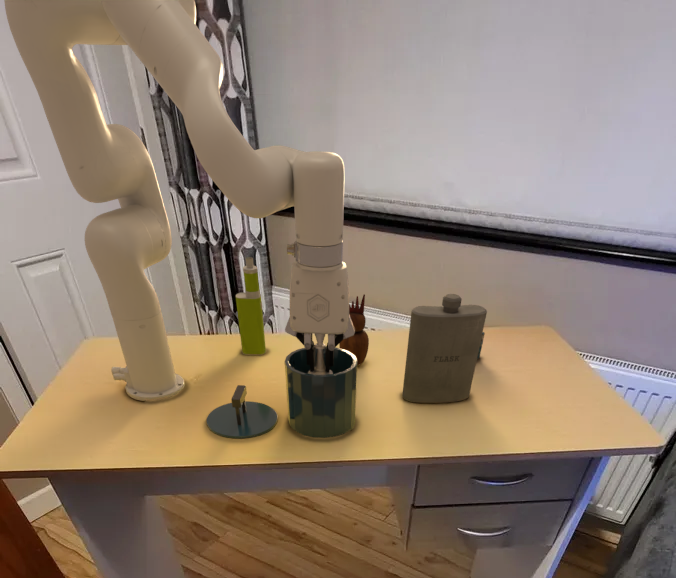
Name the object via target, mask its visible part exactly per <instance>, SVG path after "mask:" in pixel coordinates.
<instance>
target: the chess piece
mask: <svg viewBox="0 0 676 578" xmlns="http://www.w3.org/2000/svg"><path fill="white" fill-rule="evenodd" d="M314 336H315V339H316V342H317V343H314V345H315V346H314V347H315V348H316V349H318V351H317V362H316V367H315V369H314V371H313V372H310V371H309V372H308V374H313V375H328V374H333V372H332V371H331V370H330V371H329V373H326V372H325V364H324V356H323V349H324V348H326V346H327V344H325V343H324V341H325V337H326V334H314Z"/></svg>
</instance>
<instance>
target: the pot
mask: <svg viewBox="0 0 676 578" xmlns="http://www.w3.org/2000/svg"><path fill="white" fill-rule="evenodd" d="M317 351H318V349H316V348H315V362H317ZM325 351H326V348H324V349H323V356H324V364H325ZM315 367H316V365H315ZM330 370H331V371H332V372H333V374H328V375H313V374H308V372H309V371H310V365H307V355H306V349H305V347H302V348H298V349H295V350H293V351H291V352H289V354H288V355H286V356H285V359H284V372H285V387H286V402H287V405H286V406H287V418H288V419H287V421H288V425H289V427H290V428H291V429H292V430H293V431H294V432H296V433H298V434H300V435H302V436H304V437H305V436H306V437H310V438H316V439H327V438H334V437H338V436H341V435H345V434H346V433H348V432H349V431H350V432H352V431H353V430H354V428H355V424H356V407H357V406H356V405H357V404H356V403H357V383H358V382H357V381H358V380H357V378H358V365H357V358H356V357H355V355H353V354H352V353H350V352H349V351H347V350H344V349H341V348H339V347H337V346H336V347H335V349H334V366H330Z"/></svg>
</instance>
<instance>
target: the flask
mask: <svg viewBox="0 0 676 578" xmlns="http://www.w3.org/2000/svg"><path fill="white" fill-rule="evenodd" d="M461 297H462V296H460V295H459V294H455V293H448V294H445V295H444V296H443V297H442V302H441V306H438V305H437V306H435V305H434V306H433V305H418V306H416V307H413V308H412V309H411V311H410V312H411V313H410V321H409V329H408V330H409V331H408V338H407V347H406V356H405V367H404V376H403V383H402V384H403V386H402V393H401V396H402V398H403V400H404V401H407V402H411V403H416V404H417V403H418V404H445V403H447V404H448V403H455V402H461V401H464V400H467V399H469V397H470V395H471V390H472V384H473V380H474V375H475V370H476V366H477V361H478V359H477V357H478V352H479V347H480V342H481V338H482V333H483V332H484V328H485V323H486V318H487V313H488V310H487V309H486V308H485V307H483V306H481V305H478V304H464V305H463V304H462V300H463V299H462V298H461Z"/></svg>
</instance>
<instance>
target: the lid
mask: <svg viewBox="0 0 676 578" xmlns="http://www.w3.org/2000/svg"><path fill="white" fill-rule="evenodd" d="M247 393H248V392H247V385H245V384H244V385H242V384H241V385H240V384H237V386H236V387H235V390H234V392H233V395H232V396H231V399H230V401H231V402H229V403H224V404H223V405H222V404H221V405H220V406H217V407H216V408H214V409H213V410H211V411H210V412H209V413H208V415H207V416H206V426H207V428H208V429H209V431H210V432H212V433H213V434H215V435H217V436H220V437H223V438H227V439H237V440H239V439H241V440H242V439H249V438H251V439H252V438H255V437H256V438H257V437H259V436H262V435H264V434H266V433H268V432H270V431H271V430H273V429H274V428H275V427H276V426H277V424H278V419H279V418H278V413H277V412H276V410H275V409H274V408H273V407H272V406H269V405H268V404H265V403H262V402H257V401H247V400H246V397H247Z"/></svg>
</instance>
